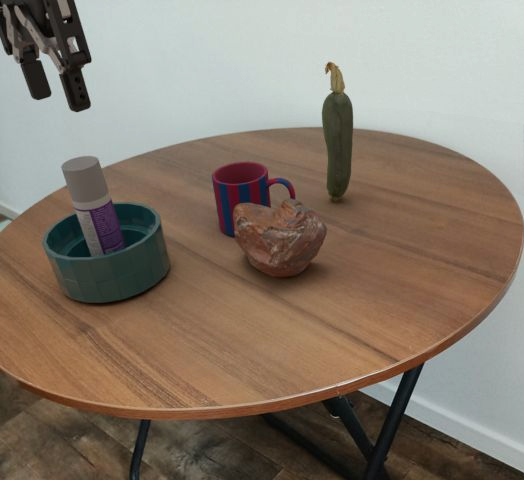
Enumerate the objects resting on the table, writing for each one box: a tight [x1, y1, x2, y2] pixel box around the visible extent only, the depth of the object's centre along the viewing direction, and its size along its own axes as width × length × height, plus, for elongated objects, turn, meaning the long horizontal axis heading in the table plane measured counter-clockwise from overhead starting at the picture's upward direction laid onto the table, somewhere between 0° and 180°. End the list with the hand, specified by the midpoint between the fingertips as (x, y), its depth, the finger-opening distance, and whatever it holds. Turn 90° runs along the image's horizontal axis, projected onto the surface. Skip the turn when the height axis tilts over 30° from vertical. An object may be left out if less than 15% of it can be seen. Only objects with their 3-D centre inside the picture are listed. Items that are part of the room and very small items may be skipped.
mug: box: [211, 161, 296, 238], centre depth 76 cm, size 8×12×8 cm, turn 64°
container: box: [60, 155, 126, 257], centre depth 67 cm, size 5×5×15 cm
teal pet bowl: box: [41, 201, 171, 304], centre depth 70 cm, size 15×15×7 cm
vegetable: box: [321, 61, 354, 202], centre depth 76 cm, size 4×4×20 cm
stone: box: [233, 198, 328, 278], centre depth 65 cm, size 13×8×10 cm
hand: (61, 103), depth 58 cm, fingers open, 8 cm apart
